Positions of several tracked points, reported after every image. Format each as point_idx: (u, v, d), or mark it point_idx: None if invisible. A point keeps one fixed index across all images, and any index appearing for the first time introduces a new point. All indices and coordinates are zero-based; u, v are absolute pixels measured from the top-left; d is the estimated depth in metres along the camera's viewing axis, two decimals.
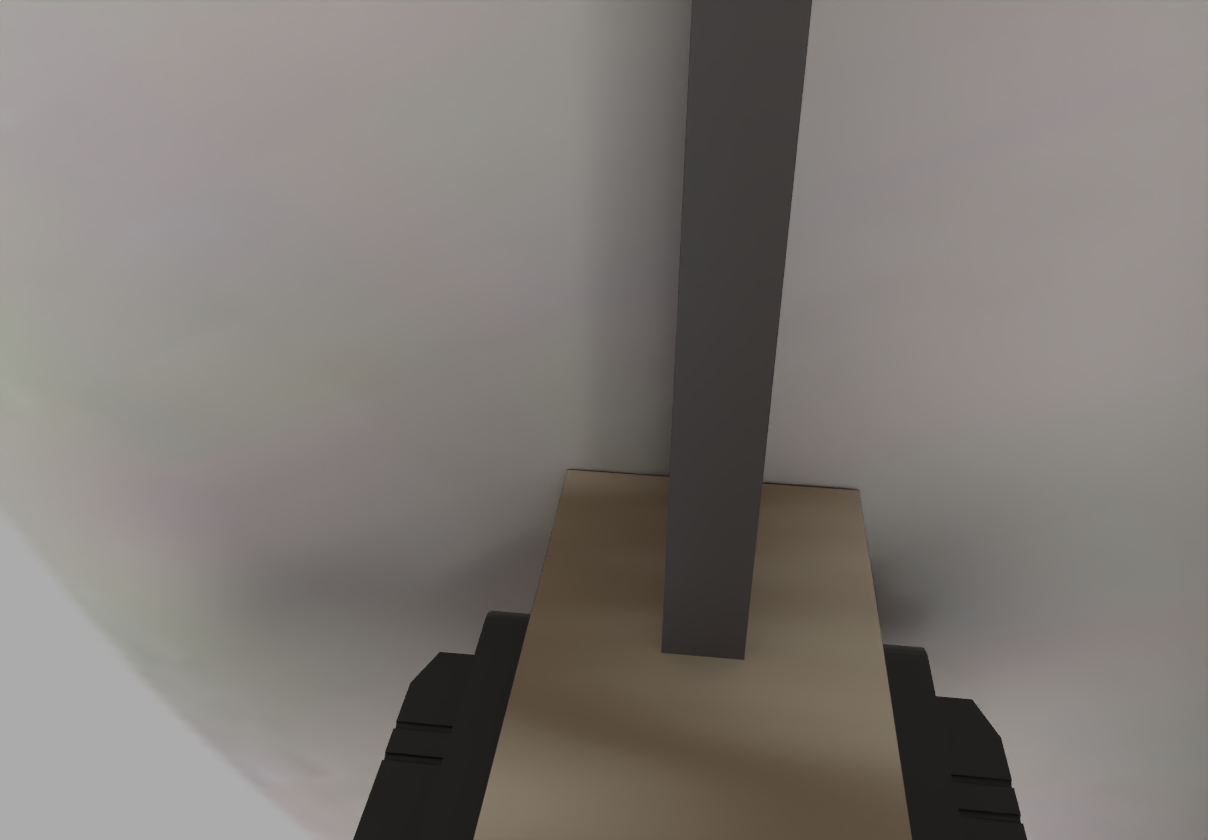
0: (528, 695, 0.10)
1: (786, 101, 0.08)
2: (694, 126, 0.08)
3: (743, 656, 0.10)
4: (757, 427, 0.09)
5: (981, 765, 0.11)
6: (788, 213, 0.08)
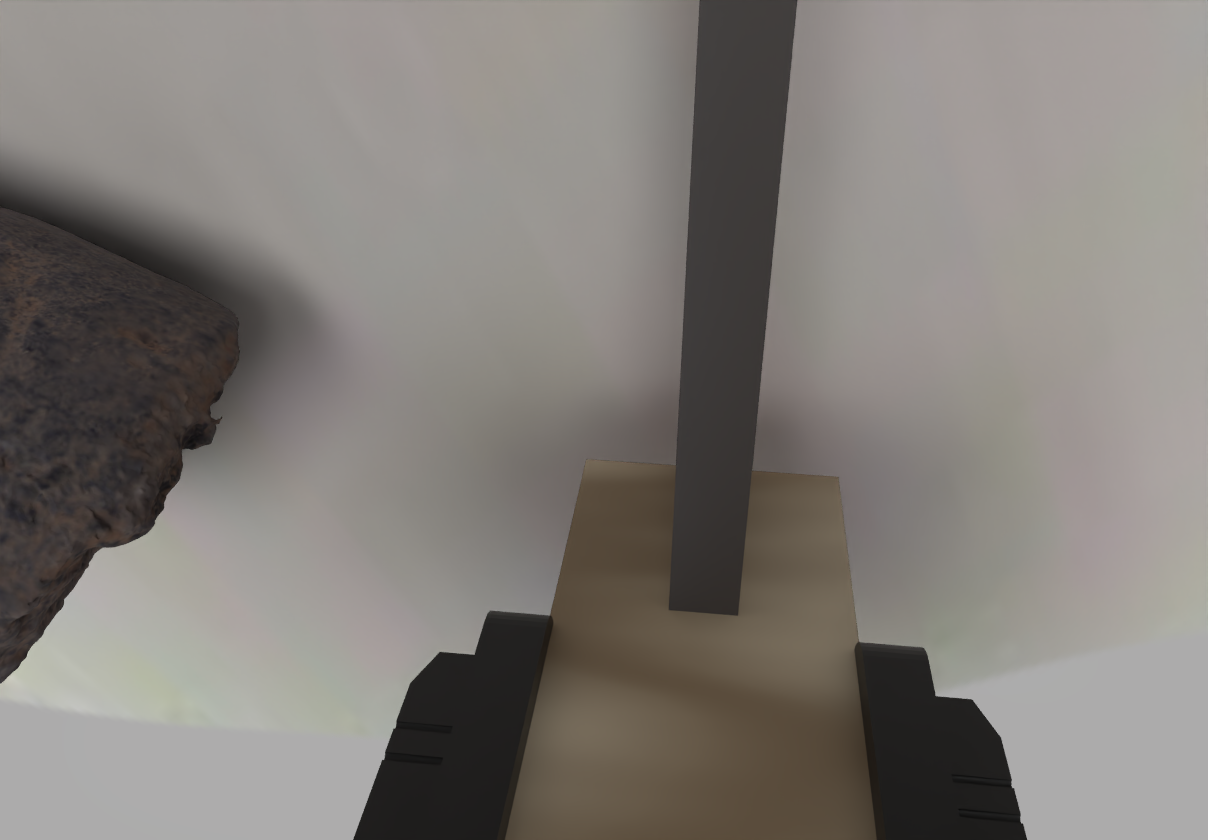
0: (558, 643, 0.12)
1: (769, 163, 0.10)
2: (696, 181, 0.10)
3: (738, 613, 0.12)
4: (748, 420, 0.11)
5: (981, 765, 0.11)
6: (771, 250, 0.10)
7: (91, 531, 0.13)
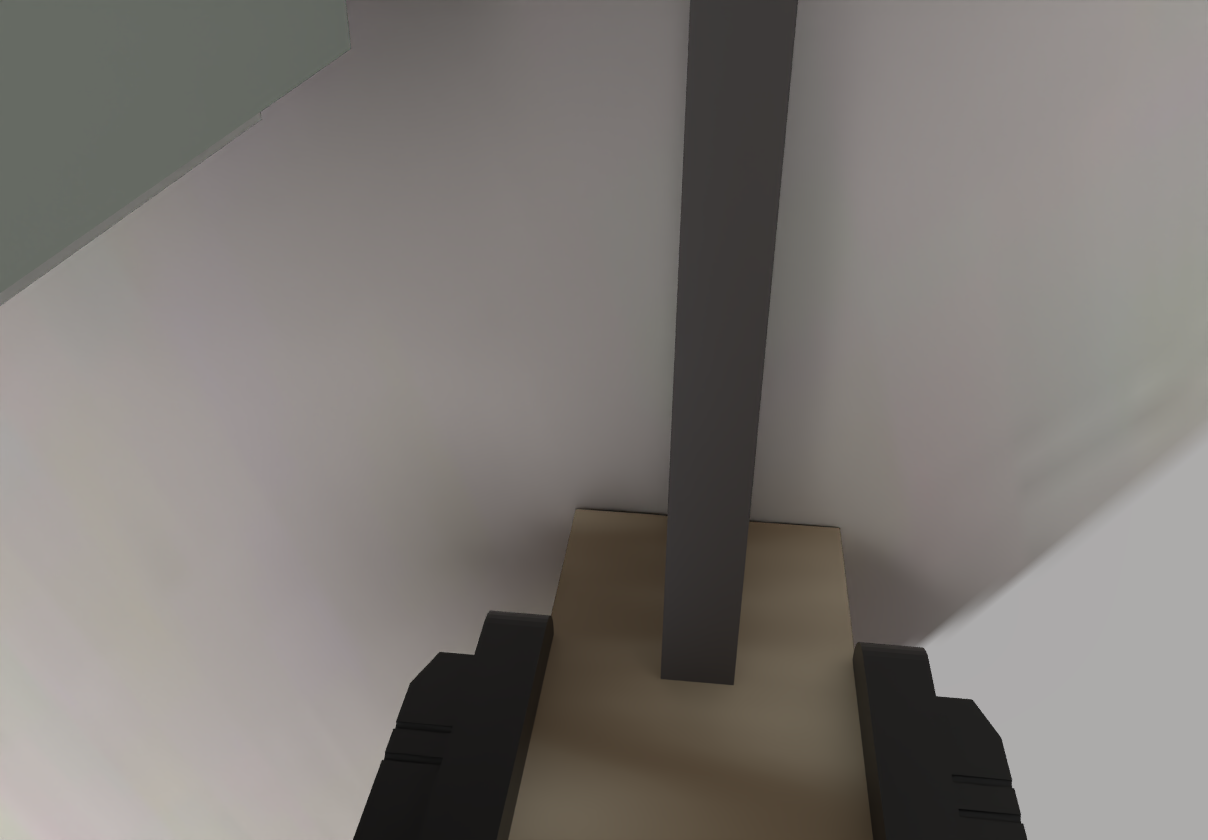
0: (543, 717, 0.11)
1: (764, 218, 0.09)
2: (686, 238, 0.09)
3: (734, 682, 0.12)
4: (743, 486, 0.10)
5: (981, 765, 0.11)
6: (767, 309, 0.09)
7: None
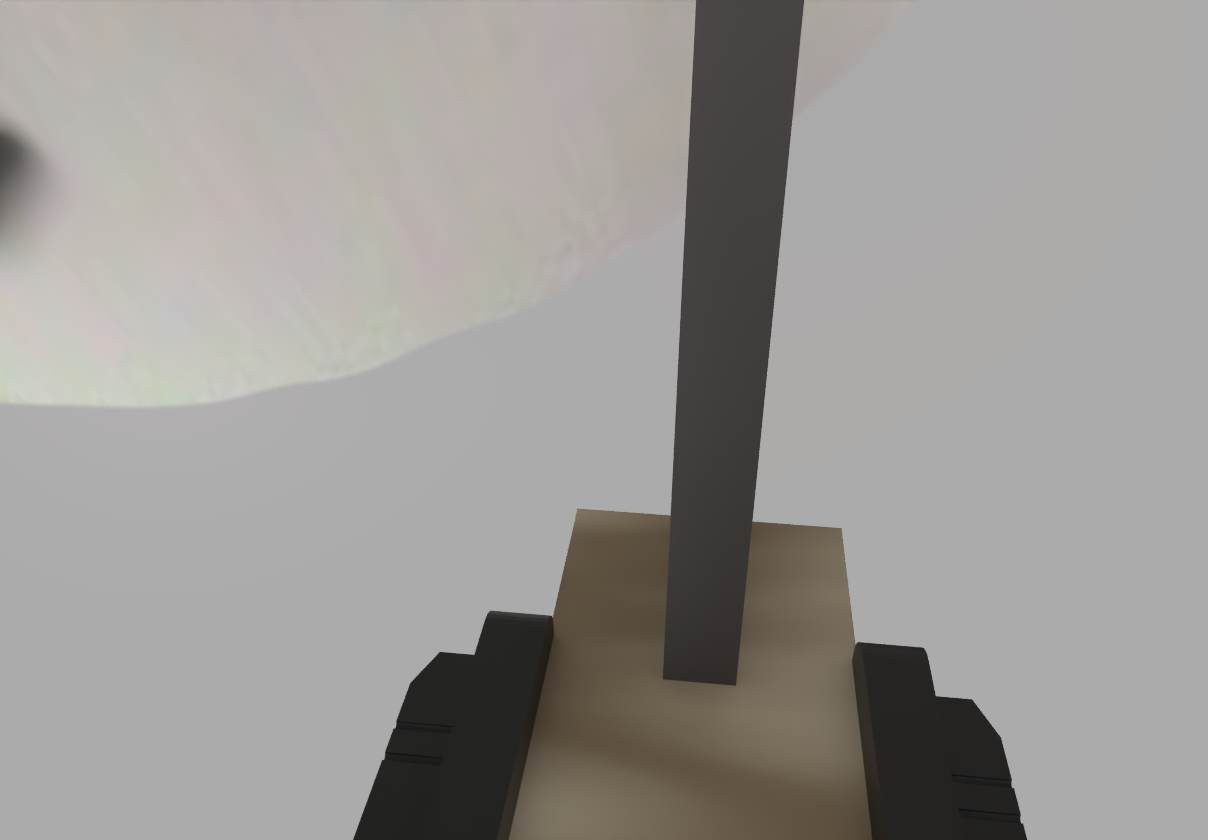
0: (546, 718, 0.11)
1: (769, 221, 0.09)
2: (691, 240, 0.09)
3: (735, 682, 0.12)
4: (746, 487, 0.10)
5: (981, 765, 0.11)
6: (771, 310, 0.09)
7: None
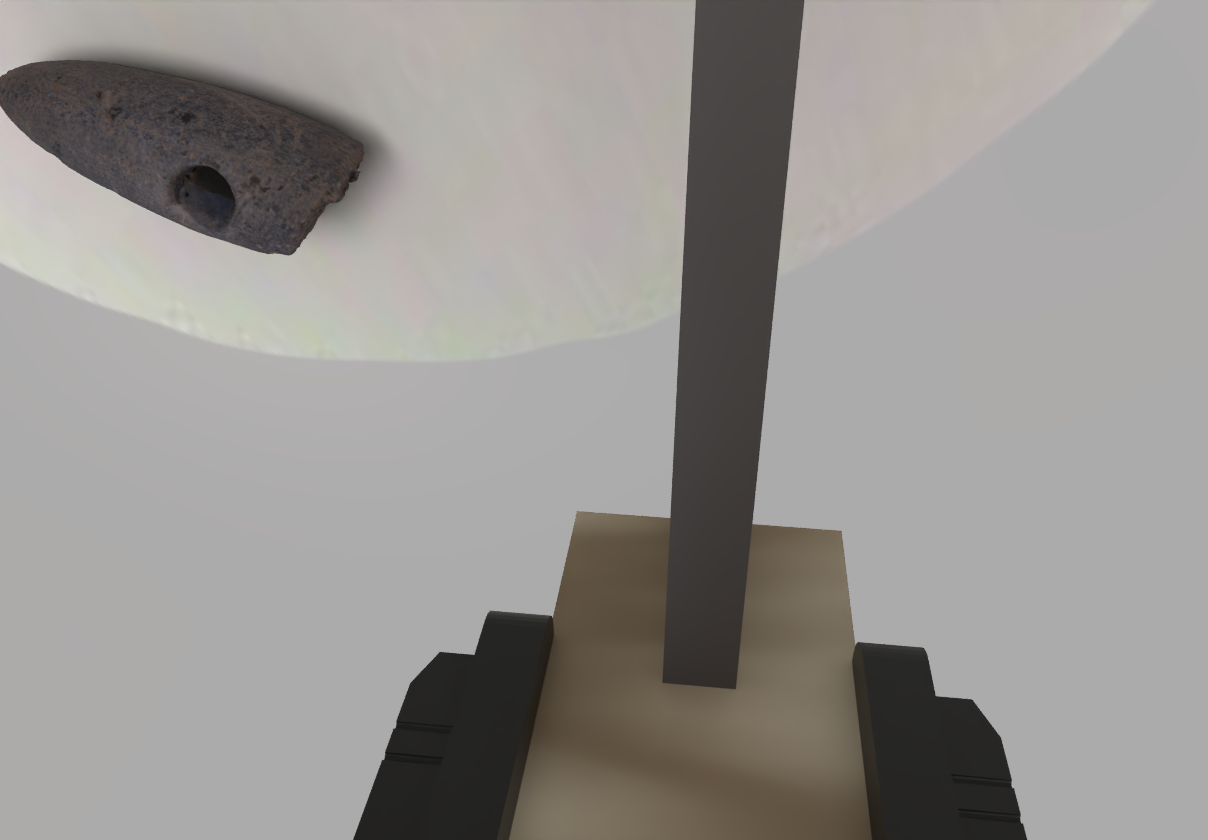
0: (545, 721, 0.11)
1: (769, 224, 0.09)
2: (691, 243, 0.09)
3: (736, 686, 0.12)
4: (746, 491, 0.10)
5: (981, 765, 0.11)
6: (771, 315, 0.09)
7: (325, 194, 0.41)
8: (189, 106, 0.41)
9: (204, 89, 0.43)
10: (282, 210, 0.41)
